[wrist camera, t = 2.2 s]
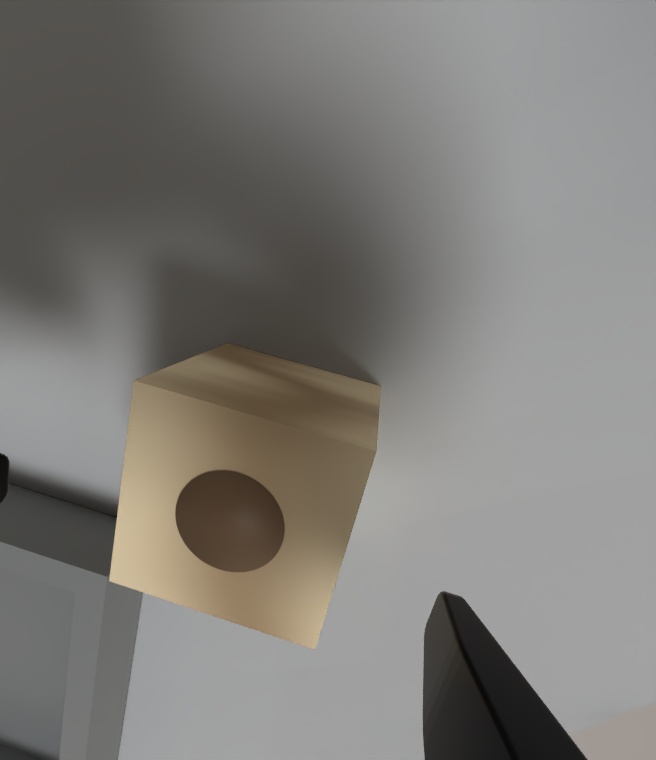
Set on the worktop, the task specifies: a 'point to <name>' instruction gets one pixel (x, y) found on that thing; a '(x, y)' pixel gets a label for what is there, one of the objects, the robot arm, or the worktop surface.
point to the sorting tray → (61, 631)
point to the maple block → (244, 487)
